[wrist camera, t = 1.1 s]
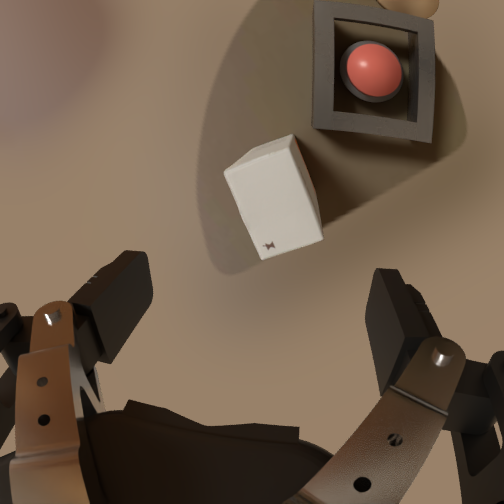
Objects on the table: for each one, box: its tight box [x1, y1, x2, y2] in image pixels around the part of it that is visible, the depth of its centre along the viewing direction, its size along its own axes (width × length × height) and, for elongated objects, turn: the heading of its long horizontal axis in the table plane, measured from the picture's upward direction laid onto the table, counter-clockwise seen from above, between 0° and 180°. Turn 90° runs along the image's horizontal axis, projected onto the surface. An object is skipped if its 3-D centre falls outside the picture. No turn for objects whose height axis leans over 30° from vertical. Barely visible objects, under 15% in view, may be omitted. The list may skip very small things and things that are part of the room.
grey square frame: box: [311, 0, 435, 143], centre depth 21 cm, size 10×11×4 cm
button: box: [339, 41, 403, 102], centre depth 21 cm, size 6×6×1 cm
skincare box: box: [224, 134, 324, 260], centre depth 23 cm, size 6×4×12 cm
